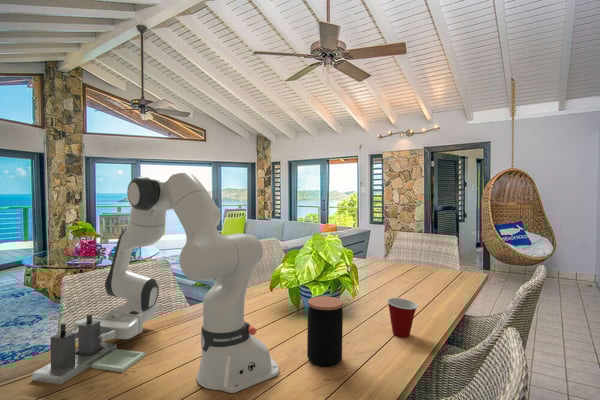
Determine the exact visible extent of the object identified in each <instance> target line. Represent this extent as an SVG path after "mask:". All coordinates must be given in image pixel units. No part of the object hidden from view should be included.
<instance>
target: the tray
mask: <svg viewBox="0 0 600 400" xmlns="http://www.w3.org/2000/svg"><path fill="white" fill-rule="evenodd" d="M144 357H146V352H145V351H138V350H137V351H136V350H129V349H128V350H127V349H122V348H121V349H120V348H117V349H116V350H114V351H113V352H111V353H109V354H108V355H106V356H104V357H103V358H101V359H100V360H98V361H96V362H95V363H93V364H92V366H91V369H97V370H105V371H111V372H119V373H123V372H124V371H126V370H127V369H129V368H130V367H131V366H133V365H135V364H136V363H138V362H139V361H140V360H141V359H143V358H144Z"/></svg>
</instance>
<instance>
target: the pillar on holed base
mask: <svg viewBox="0 0 600 400" xmlns="http://www.w3.org/2000/svg"><path fill="white" fill-rule="evenodd" d="M59 325H60V328H59V329H60V332H59V333H57V334H55V335H51V336H50V363H48V364H46V365H44V366H43V367H41V368H39V369H36V370H35V371H33V372H32V381H37V382H42V383H43V382H44V383H50V384H55V385H62V384H64V383H66V382H68V381H69V380H71V379H72V378H73V377H74V378H75V377H76V376H77V375H79V374H81V373H83V372H84V371H85V370H88V369H89V368H90V367H92V364H93V363H95V362H96V361H98V360H100V359H101V358H103V357H104V356H106V355H108V354H109V353H111V352H113V351H114V350H116V349H118V347H117V345H118V344H117V343H111V342H105V341H104V342H101V341H100V351H99V352H97V353H95V354H93V355H92V356H90V357H89V356H82V355H78V348H76V338H75V333H73V332H74V331H72V332H70V331H67V330H66V328H67V327H66V323H65V322H64V323H60V324H59Z"/></svg>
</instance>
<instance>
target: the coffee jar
mask: <svg viewBox="0 0 600 400" xmlns="http://www.w3.org/2000/svg"><path fill="white" fill-rule="evenodd" d="M307 304H308V306H309V307H308V308H307V338H306V339H307V345H306V346H307V347H306V348H307V350H306V353H307V354H306V356H307V358H308V360H309V362H310V363H311V364H312V365H314V366H316V367H319V368H333V367H335V366H337V365H340V363H341V361H342V359H343V323H344V322H343V319H344V318H343V317H344V311H343V310H344V309H343V308H342V307H343V305H344V301H343V300H342V299H341V298H338V297H334V296H328V295H327V296H325V295H321V296H314V297H311V298H309V299H308V300H307Z"/></svg>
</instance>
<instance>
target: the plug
mask: <svg viewBox="0 0 600 400" xmlns="http://www.w3.org/2000/svg"><path fill="white" fill-rule="evenodd" d="M92 316H93V314H91V313H89V314H86V318H87V321H86V322H84V323H82V324H79V325H78V338H77V339H78V342H77V343H78V344H77V345H78V348H77V349H78V355H82V356H89V357H90V356H92V355H93V354H95V353H97V352H99V351H100V342H101V341H98V339H99V338H98V337H99V335H100V321H93V320H92Z"/></svg>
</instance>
